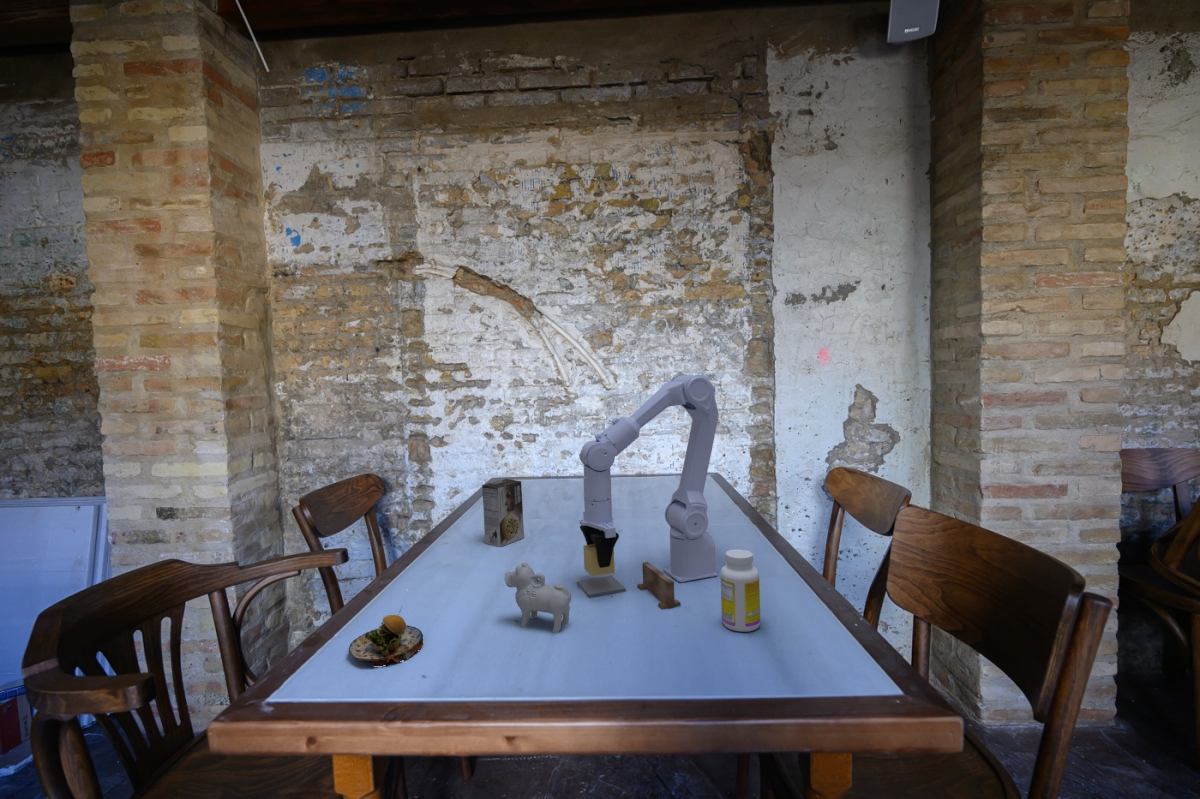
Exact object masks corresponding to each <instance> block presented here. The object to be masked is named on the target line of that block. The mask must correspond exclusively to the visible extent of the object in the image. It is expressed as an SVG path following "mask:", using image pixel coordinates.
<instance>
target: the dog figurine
mask: <svg viewBox="0 0 1200 799" xmlns="http://www.w3.org/2000/svg"><path fill="white" fill-rule="evenodd" d="M514 569H515V570H513V571H507V572H505V573H504V582H505V585H506V587H508V588H516V592H515V597H514V598H515V602H516V605H517V607H519V609H520V612H521V614H522V615H521V616H522V621H521V624H520V627H521V628H523V629H524V628H527V627H528V626H529V624H530V622H529V619H534V620H535V619H536V618H538V613H539V612H540V613H541V612H542V613H547V614H551V615H552V616H553V629H552V633H553V634H558V633H559V632H561V626H562V625H565V624H568V623H569V622H570V610H571V607H570V603H571V601H572V594H571V591H569V590H568V589H567V588H566V586H564V585H562V584H560V583H555V584H554V585H551V584H547V583H546V578H545V575H544V574H543V573H540V572H538V573H535V571H534V570H533V568H532V567H531V566H530V565H529V563H527V562H525V561H524V562H521V565H516V566H515V568H514Z"/></svg>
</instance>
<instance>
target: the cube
mask: <svg viewBox="0 0 1200 799" xmlns="http://www.w3.org/2000/svg"><path fill="white" fill-rule="evenodd" d="M582 548H583V566H584V567H583V568H584V570H585V571H586V572H587V574H589V576H591V577H592V578H594V577H600V576H604V575H605V576H606V575H610V574H611V575H612V574H615V572H616V571H615V551H614V550H615V548H614V549H613V553H612V557H611V562H610V566H609V567H603V568H600V567H599V564H598V559H597V553H596V548H595V545H594V544H592V545H587V544H585V545H583V547H582Z"/></svg>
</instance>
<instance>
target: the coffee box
mask: <svg viewBox="0 0 1200 799" xmlns="http://www.w3.org/2000/svg"><path fill="white" fill-rule="evenodd" d="M481 488H482V505H483V508H482V509H483V526H484V528H483V529H484V544H486V545H489V544H490V546H493V545H494V546H493V547H498V548H503V547H505V546H507V545H510V544H513V543H515V542H517V541H519V540H522V539H524V538H525V532H524V527H525V526H524V509H523V493H522V489H523V488H522V481H521V480H517V479H516V480H515V479H508V478H504V479H501V480H500V479H499V480H496V481H492V482H489V483H488V482H487V483H484V484H482V487H481Z"/></svg>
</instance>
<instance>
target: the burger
mask: <svg viewBox="0 0 1200 799" xmlns="http://www.w3.org/2000/svg"><path fill="white" fill-rule="evenodd" d="M402 607H403V606H401V607H400V610H399V613H398V615H397V614H388V615H385V616H384V617H383V618H382V622H381V623H380V625H379V626H378V627H377V628H375V629H373V630H372V629H371V630H370V631H367V632H365V633H363V634H361V635H359V636H357V638H355V639H353V641H352V642H351V643H350V644H349V647H348V652H349V654H351V655H352V656H353V657H354V658H356V659H358V660H359V661H366V662H371V664H372V667H373V668H374V666H383V665H386V664H387V665H388V662H390V660H393V661H394V662H396V663H397V664H398V663H399V662H400V661H402V660H404V661H405V660H407V658H409V659H410V658H411V656H412V655H415V653H416V652H418V650H420V649H421V647H422V648H423V646H424V643H423V642H424V634H423V632H422V631H421V630H420V629H419V628H417V627H416V626H412V625H407V623H406V621H405V619H404V618H403V617H402V616H401V615H400V613H401V610H402V609H403V608H402ZM421 650H422V649H421ZM421 650H420V651H421ZM400 663H401V662H400Z"/></svg>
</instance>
